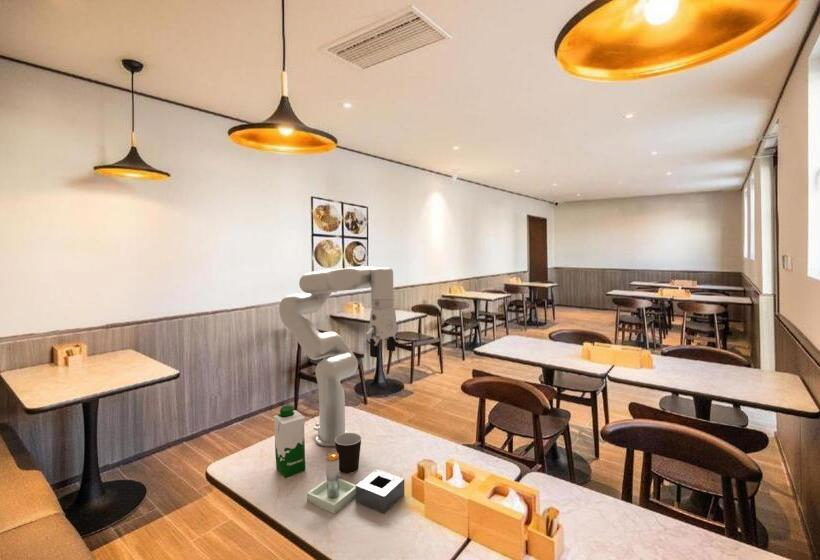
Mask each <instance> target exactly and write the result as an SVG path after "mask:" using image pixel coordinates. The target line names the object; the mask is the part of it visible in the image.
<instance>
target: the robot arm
mask: <svg viewBox="0 0 820 560" xmlns="http://www.w3.org/2000/svg"><path fill="white" fill-rule="evenodd" d="M298 285H299V288H300V290H301V291H303V292H299V293H293V294H289V295H286V296H285V297H283V298H282V299H281V300H280V303H279V306H278V307H279V308H278V309H279V310H278V312H279V313H278V314H279V316H280V319H281V321H282V323H283V325H284V326H285V327H286V328H287V329H288V330H289V332H290V333H291V334H292V336H293V337H294V338H295V339H296V341H297V343H298V344H299V345H300V347H301V349H302V350H303V351H304V353H305V354H306V355H307V357H308V358H309V359H310V360H313V361H316V360H320V361H319V362H318V363H317V365H316V366H315V377H316V382H317V387H318V388H317V389H318V409H319V411H318V412H319V417H318V418H319V422H316V423H315V426H314V427H313V430H314V431H316V432H317V435H316V436H315V442H316V443H317V445H319V446H322V447H329V448H330V447H336V446H335V438H336V437H337V436H339V435H341V434H344V433H349V432H348V430H346V404H345V402H346V400H345V397H346V396H345V389H344V387H343V386H342V384H341V381H342V380H344V379H346V378H348V377H351V376H353V375H354V374H355V373H357V370H358V368H359V364H358V359H357V357H356V355H355V353H354V352H353V351H352V349H351V348H350V347H349V346H348V344H347V343H346V341H345V340H344V339H343V337H342V336H341V335H340V334H339V333H338V332H335V331H330V330H329V331H324V332H321V331H319V330H318V328H317V327H316V326H315V325H314V323H313V322H312V321H310V320H309V319H308V318H306V317H305V316H303V315H307V314H308V315H309V314H313V313H317V312H319V311H320V310H322V308H323V307H324V306H325V303H326V302H327V301H328V299H329V297H330V296H331V294H332V293H337V292H341V291H342V292H343V291H354V290H360V289H371V290H370V294H371V295H370V296H371V298H370V299H371V300H370V303H371V310H370V313H369V314H370V315H369V330H368V331H367V332H366V333H365V338H366V341H367V343H368V345H369V357H371V358H379V357H380V356H379V354H380V353H379V352H380V351H379V350H380V347H379V346H380V345H378V344H379V342H380V340H384V339H386V350H387V351H390V352H395V351H396V339H397V334H398V329H399V325H397V315H396V310H395V306H394V305H395V304H394V270H393V268H391V267H376V266H370V265H369V266H367V265H366V266H353V267H344V268H337V269H336V268H335V269H333V268H332V269H325V270H323V269H322V270H318V271H317V270H316V271H311V272H307V273H305V274H303V275H302V276H301V277H300V278H299V282H298Z"/></svg>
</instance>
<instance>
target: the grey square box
mask: <svg viewBox="0 0 820 560" xmlns="http://www.w3.org/2000/svg"><path fill="white" fill-rule="evenodd" d="M355 485H356V497H355V503H357V504H359V505H362V506H364V507H366V508H369V509H370V510H374V511H375V512H378V513H380V514H384V515H386V514H387V513H388V512H389V511H390V510H391V509H392V508H393V507H395V505H396V504H397V503H398V502H399V501H400V500H401V499H402V498H403V497H404V496H405V478H404V477H401V476H398V475H395V474H392V473H390V472H387V471H383V470H381V469H378V468H375V470H373V471H372V472H371V473H369V474H368V475H367V476H366V477H365V478H363V479H362V480H361V481H359V482H358V483H357V484H355Z"/></svg>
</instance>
